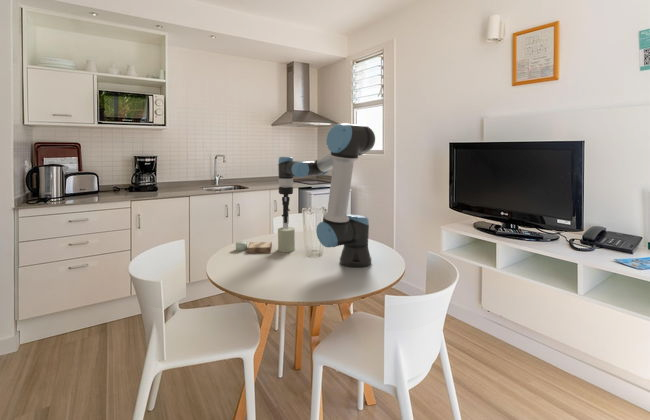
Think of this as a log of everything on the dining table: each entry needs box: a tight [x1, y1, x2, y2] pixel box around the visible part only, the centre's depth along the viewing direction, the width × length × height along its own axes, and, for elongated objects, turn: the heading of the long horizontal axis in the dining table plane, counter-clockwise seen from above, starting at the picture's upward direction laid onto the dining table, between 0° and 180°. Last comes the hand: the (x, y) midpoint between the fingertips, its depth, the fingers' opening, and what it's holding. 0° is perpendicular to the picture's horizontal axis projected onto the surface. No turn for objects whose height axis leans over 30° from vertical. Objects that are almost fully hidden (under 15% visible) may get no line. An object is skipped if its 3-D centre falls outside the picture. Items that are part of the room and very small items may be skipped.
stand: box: [246, 241, 273, 254], centre depth 196 cm, size 12×12×3 cm
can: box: [277, 226, 296, 253], centre depth 196 cm, size 9×9×12 cm
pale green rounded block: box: [235, 240, 248, 252], centre depth 196 cm, size 6×6×4 cm
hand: (285, 225), depth 195 cm, fingers open, 13 cm apart
